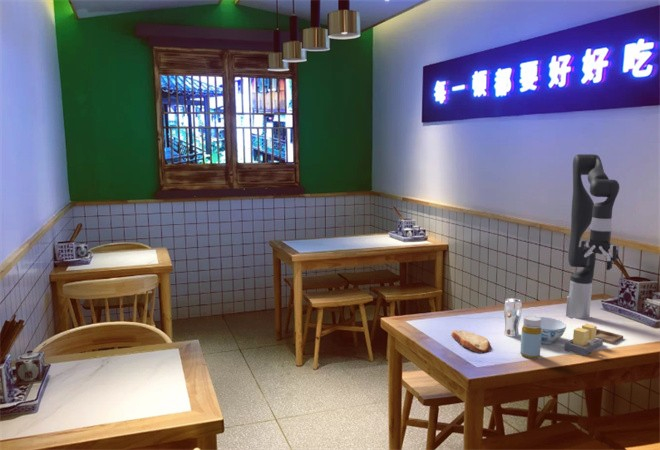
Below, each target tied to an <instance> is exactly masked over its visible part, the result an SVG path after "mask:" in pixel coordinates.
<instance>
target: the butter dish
mask: <svg viewBox="0 0 660 450" xmlns="http://www.w3.org/2000/svg"><path fill="white" fill-rule="evenodd" d="M581 328H583V329H587V330H589V336H588V345H587V346H585V347H582V346H579V345H575V344H573V338H572V339H570V340H567V341H566V342H564V343H565V344H564V351H567V352H570V353H573V354H576V355H580V356H583V357H587V356H589V355H590V354H592V352H593V351H594V350H596V349H598V348H599V347H601V346H603V343H604V342H603V339H599V338H596V330H597V329H598V327H597V325H594V324H590V323H584V324H583V325H582V326H581Z"/></svg>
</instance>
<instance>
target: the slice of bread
mask: <svg viewBox="0 0 660 450" xmlns="http://www.w3.org/2000/svg"><path fill="white" fill-rule="evenodd" d="M450 336H451V337H452V339H453V340H454V341H456V342H457V343H458V344H460V345H461V346H462V347H464V348H466V349H467V350H470V351H472V352H475V353H479V354H485V353H489V352H490V350H491V343H490V340H488V339H487V338H486V337H485V336H482V335H479V334H476V333H473V332H470V331H469V332H468V331H466V330H458V329H457V330H456V329H454V330H452V333H451V335H450Z"/></svg>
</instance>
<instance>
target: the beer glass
mask: <svg viewBox="0 0 660 450" xmlns="http://www.w3.org/2000/svg"><path fill="white" fill-rule="evenodd" d="M522 303H523V302H522V300H521V299H519V298H515V297H509V298H505V300H504V307H503V315H504V323H505V325H504V331H503V334H504V336H506V337H510V338H511V337H512V338H516V337H519V336H520V330H519V325H520V321H521V317H522V307H523V306H522Z"/></svg>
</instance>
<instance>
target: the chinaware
mask: <svg viewBox="0 0 660 450" xmlns="http://www.w3.org/2000/svg"><path fill="white" fill-rule="evenodd" d="M539 317H540V318H541V326H540V328H541V344H546V345H551V344H553V343H555V341H556V340H558V339H560V338H561V337H562V336H563V335H564V333H565V331H566V329H567V323H565V322H564V321H562V320H560V319H556V318H554V317H547V316H546V317H545V316H539Z"/></svg>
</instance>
